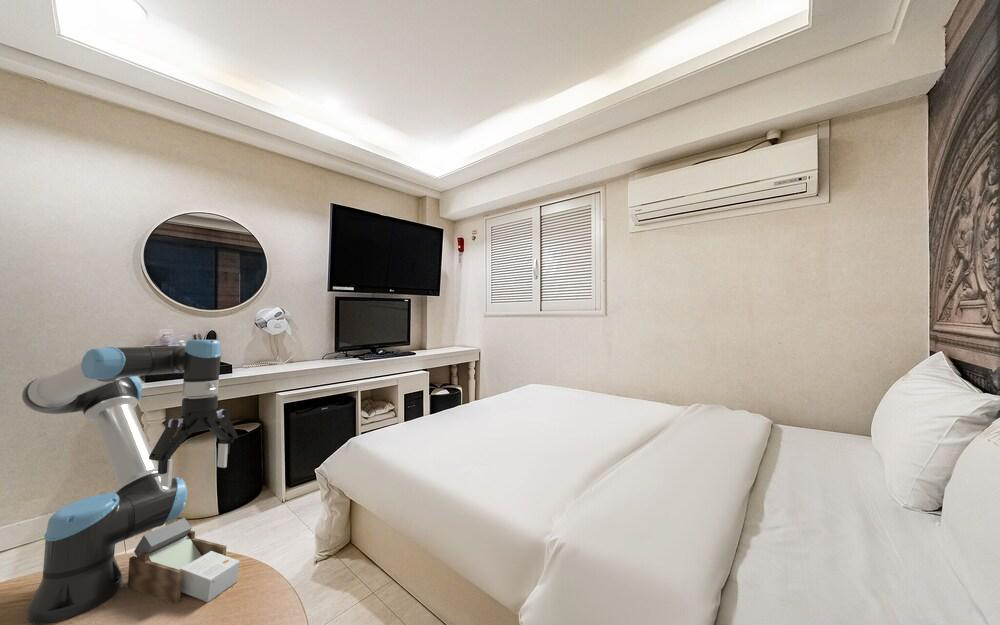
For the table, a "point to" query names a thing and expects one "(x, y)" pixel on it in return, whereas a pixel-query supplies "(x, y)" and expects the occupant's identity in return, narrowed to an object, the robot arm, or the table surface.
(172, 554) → the trapdoor
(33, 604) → the robot arm
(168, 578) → the trapdoor frame
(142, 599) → the table surface
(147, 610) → the table surface
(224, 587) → the small box
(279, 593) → the table surface
